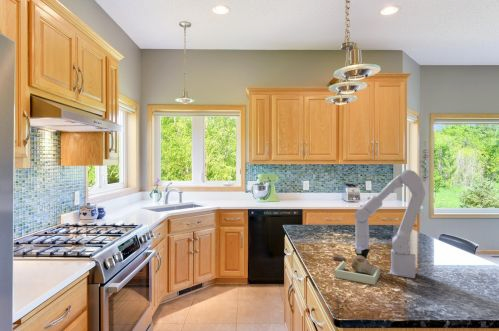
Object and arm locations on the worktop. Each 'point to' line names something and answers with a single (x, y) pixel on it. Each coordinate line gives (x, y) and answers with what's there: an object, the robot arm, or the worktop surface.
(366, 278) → the beige u-shaped block
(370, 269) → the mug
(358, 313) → the worktop surface
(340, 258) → the walnut tile
